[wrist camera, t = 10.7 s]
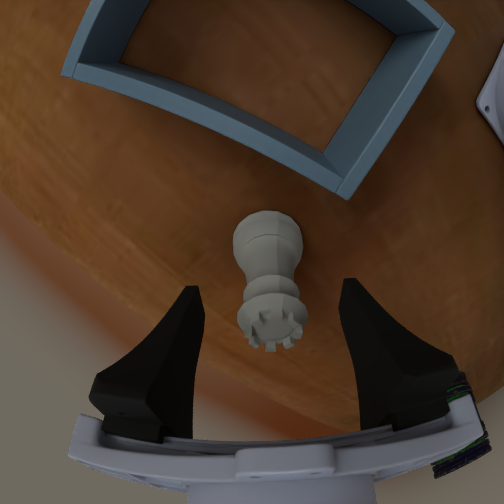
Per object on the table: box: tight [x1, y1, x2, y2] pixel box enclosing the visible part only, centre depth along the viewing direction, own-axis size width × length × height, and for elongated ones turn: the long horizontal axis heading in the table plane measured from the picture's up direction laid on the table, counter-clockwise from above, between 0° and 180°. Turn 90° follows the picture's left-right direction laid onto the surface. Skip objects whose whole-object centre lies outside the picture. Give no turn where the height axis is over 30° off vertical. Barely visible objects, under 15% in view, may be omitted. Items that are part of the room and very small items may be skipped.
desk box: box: [61, 0, 455, 200], centre depth 10 cm, size 15×11×4 cm
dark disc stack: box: [431, 372, 492, 479], centre depth 28 cm, size 10×10×15 cm
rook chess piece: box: [233, 211, 308, 352], centre depth 15 cm, size 4×4×8 cm
